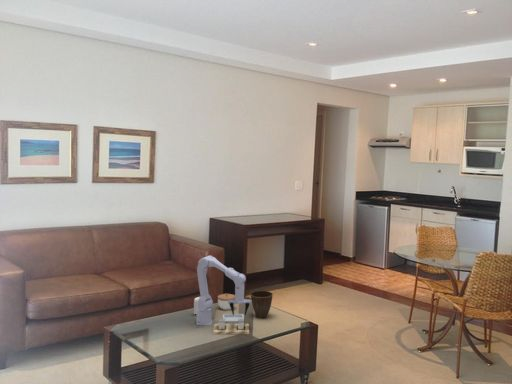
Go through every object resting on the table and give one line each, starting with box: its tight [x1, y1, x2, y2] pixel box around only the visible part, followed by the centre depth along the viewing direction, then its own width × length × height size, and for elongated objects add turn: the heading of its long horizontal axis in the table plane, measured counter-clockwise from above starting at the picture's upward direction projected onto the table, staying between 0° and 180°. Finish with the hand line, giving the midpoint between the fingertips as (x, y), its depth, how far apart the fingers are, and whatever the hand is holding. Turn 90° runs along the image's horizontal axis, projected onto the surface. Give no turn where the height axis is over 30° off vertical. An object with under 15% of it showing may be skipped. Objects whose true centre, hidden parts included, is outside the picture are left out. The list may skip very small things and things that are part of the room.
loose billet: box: [237, 318, 245, 330], centre depth 302 cm, size 4×6×6 cm, turn 2°
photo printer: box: [193, 296, 200, 315], centre depth 330 cm, size 10×4×12 cm, turn 98°
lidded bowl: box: [217, 292, 236, 311], centre depth 343 cm, size 13×13×11 cm
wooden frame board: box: [212, 323, 250, 335], centre depth 302 cm, size 22×14×2 cm, turn 92°
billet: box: [218, 318, 226, 330], centre depth 302 cm, size 4×6×6 cm, turn 2°
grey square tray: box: [222, 313, 245, 324], centre depth 318 cm, size 14×14×2 cm
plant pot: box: [250, 290, 274, 319], centre depth 327 cm, size 15×15×16 cm
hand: (239, 314), depth 304 cm, fingers open, 7 cm apart
